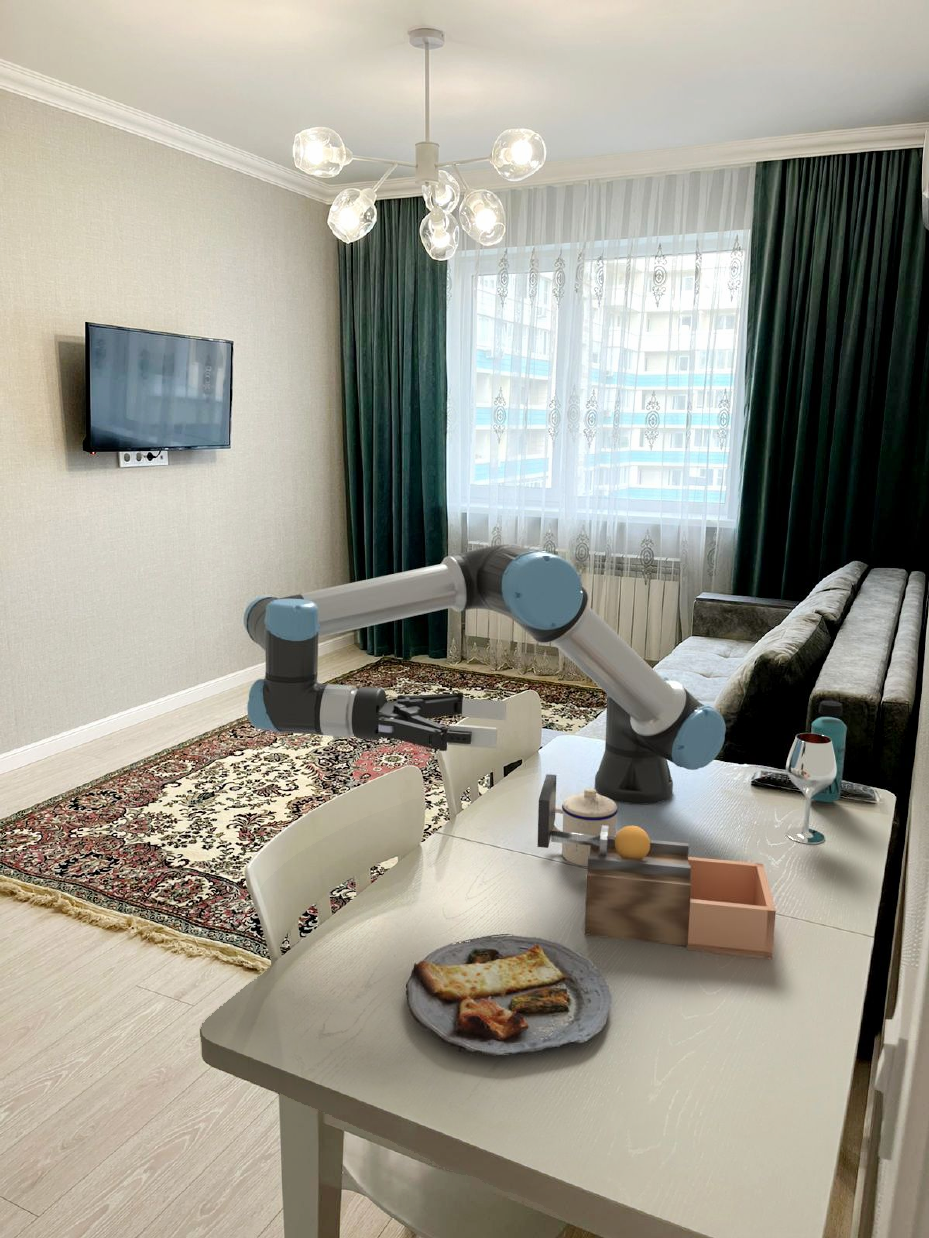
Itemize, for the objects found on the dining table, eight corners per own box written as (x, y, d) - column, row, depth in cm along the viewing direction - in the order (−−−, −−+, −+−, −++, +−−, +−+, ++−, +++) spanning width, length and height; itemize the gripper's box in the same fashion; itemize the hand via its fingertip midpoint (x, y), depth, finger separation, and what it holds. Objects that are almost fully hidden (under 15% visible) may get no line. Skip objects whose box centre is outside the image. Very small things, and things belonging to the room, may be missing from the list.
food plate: (429, 1081, 98) (430, 1052, 98) (388, 965, 120) (389, 940, 120) (641, 1047, 105) (643, 1020, 104) (565, 943, 127) (567, 919, 127)
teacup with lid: (623, 850, 154) (625, 785, 152) (604, 872, 146) (607, 804, 144) (556, 835, 160) (558, 772, 157) (535, 856, 152) (537, 790, 149)
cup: (687, 949, 124) (690, 902, 123) (683, 899, 138) (686, 856, 136) (771, 958, 122) (775, 910, 121) (759, 907, 136) (762, 863, 134)
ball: (606, 856, 132) (608, 824, 131) (634, 849, 134) (635, 817, 133) (628, 870, 127) (630, 837, 126) (656, 863, 130) (658, 830, 129)
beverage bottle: (801, 805, 174) (810, 704, 170) (806, 793, 179) (815, 695, 175) (838, 812, 171) (848, 709, 167) (842, 800, 176) (851, 700, 173)
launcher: (584, 934, 128) (587, 864, 126) (589, 893, 139) (592, 828, 137) (687, 945, 125) (691, 874, 123) (683, 902, 137) (687, 837, 135)
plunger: (537, 862, 128) (538, 799, 126) (544, 833, 138) (546, 774, 136) (605, 869, 127) (608, 805, 125) (608, 838, 136) (610, 779, 134)
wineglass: (837, 847, 156) (847, 746, 153) (789, 846, 156) (797, 745, 153) (820, 826, 164) (828, 731, 161) (774, 826, 164) (782, 730, 161)
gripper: (374, 713, 146) (507, 724, 143) (331, 764, 121) (490, 778, 119) (376, 667, 144) (510, 677, 142) (332, 710, 120) (493, 723, 117)
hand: (501, 723), depth 130 cm, fingers open, 13 cm apart
